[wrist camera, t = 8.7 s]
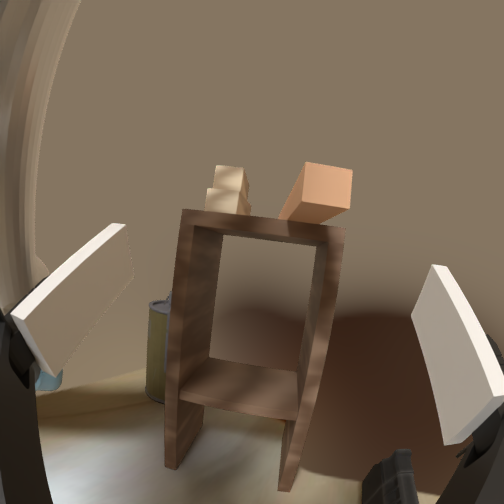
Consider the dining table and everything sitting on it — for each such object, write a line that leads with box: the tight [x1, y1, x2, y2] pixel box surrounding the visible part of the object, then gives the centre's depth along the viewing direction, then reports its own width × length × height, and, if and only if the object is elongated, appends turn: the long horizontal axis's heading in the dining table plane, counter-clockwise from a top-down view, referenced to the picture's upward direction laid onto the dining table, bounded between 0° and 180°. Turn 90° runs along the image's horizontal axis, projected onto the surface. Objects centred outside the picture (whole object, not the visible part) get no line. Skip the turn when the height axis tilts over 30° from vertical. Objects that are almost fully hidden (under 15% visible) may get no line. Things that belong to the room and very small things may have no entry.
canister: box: [145, 291, 172, 404], centre depth 51 cm, size 11×10×20 cm
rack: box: [164, 165, 346, 492], centre depth 35 cm, size 16×14×38 cm
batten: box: [278, 162, 352, 224], centre depth 31 cm, size 28×3×2 cm, turn 178°
